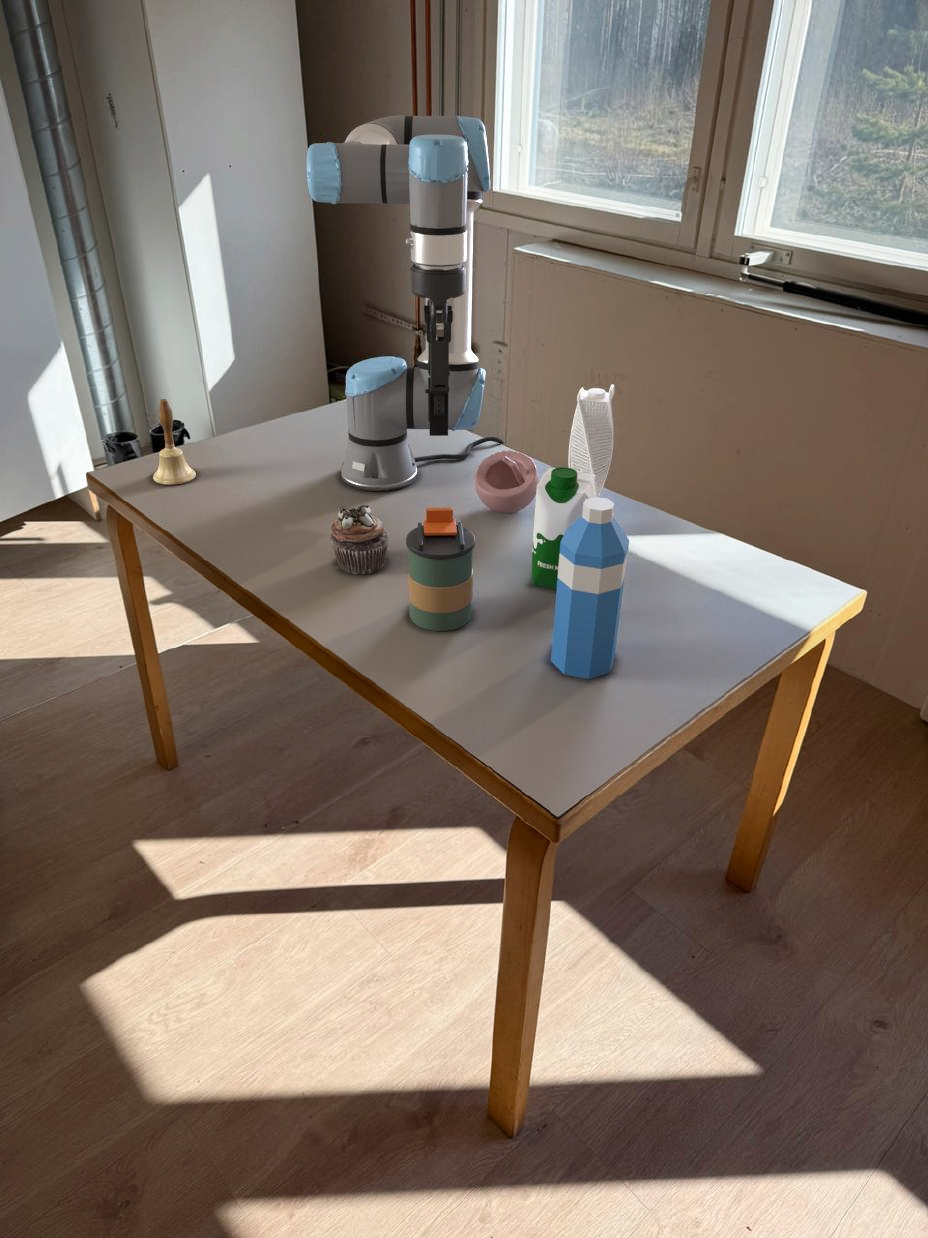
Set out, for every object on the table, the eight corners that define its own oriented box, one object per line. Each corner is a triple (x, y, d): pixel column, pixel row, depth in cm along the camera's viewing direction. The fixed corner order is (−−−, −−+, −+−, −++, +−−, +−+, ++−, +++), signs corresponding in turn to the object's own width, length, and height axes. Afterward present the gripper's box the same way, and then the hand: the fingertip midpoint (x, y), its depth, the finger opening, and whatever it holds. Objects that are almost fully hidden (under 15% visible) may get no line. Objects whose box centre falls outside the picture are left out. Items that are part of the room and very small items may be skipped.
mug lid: (405, 528, 141) (405, 518, 140) (472, 527, 141) (472, 517, 140) (406, 560, 132) (406, 550, 131) (477, 559, 133) (477, 549, 132)
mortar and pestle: (464, 517, 172) (465, 459, 166) (487, 492, 181) (488, 437, 175) (525, 529, 168) (528, 470, 162) (545, 503, 178) (549, 447, 171)
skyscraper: (613, 536, 166) (631, 385, 151) (580, 546, 163) (595, 392, 148) (586, 519, 172) (601, 371, 157) (554, 528, 169) (565, 378, 154)
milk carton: (525, 586, 151) (532, 473, 140) (539, 561, 158) (547, 452, 147) (577, 596, 149) (589, 482, 138) (589, 570, 156) (601, 460, 145)
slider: (423, 522, 140) (423, 507, 138) (455, 521, 140) (455, 506, 139) (424, 535, 136) (424, 520, 135) (456, 535, 136) (456, 520, 135)
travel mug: (408, 598, 147) (406, 528, 141) (469, 597, 148) (471, 527, 141) (408, 632, 139) (407, 560, 132) (474, 631, 140) (476, 558, 133)
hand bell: (181, 465, 190) (169, 389, 181) (204, 476, 185) (192, 400, 177) (145, 476, 185) (131, 399, 176) (167, 489, 180) (153, 410, 172)
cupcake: (345, 582, 151) (342, 527, 146) (325, 556, 158) (321, 503, 153) (399, 569, 155) (397, 515, 150) (376, 545, 162) (374, 493, 157)
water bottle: (545, 643, 137) (557, 489, 124) (607, 640, 138) (625, 487, 124) (556, 680, 129) (570, 520, 116) (621, 677, 130) (642, 518, 117)
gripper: (409, 249, 132) (412, 406, 145) (411, 279, 117) (413, 451, 129) (461, 250, 133) (459, 405, 145) (470, 279, 117) (467, 450, 130)
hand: (438, 426), depth 137 cm, fingers open, 5 cm apart
